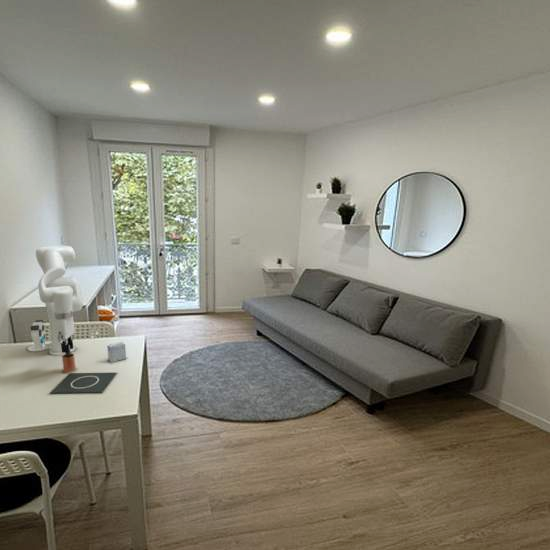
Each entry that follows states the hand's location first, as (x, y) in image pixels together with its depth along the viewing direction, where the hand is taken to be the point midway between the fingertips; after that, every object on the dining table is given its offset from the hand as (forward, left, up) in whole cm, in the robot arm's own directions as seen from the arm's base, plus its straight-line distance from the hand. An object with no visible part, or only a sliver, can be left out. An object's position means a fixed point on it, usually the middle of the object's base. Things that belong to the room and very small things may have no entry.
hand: (67, 350), depth 174 cm
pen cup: (0, 0, -11) cm, 11 cm away
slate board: (+13, -13, -11) cm, 21 cm away
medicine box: (+19, +12, -11) cm, 25 cm away
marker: (0, 0, -11) cm, 11 cm away
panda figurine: (-30, +29, -11) cm, 43 cm away
